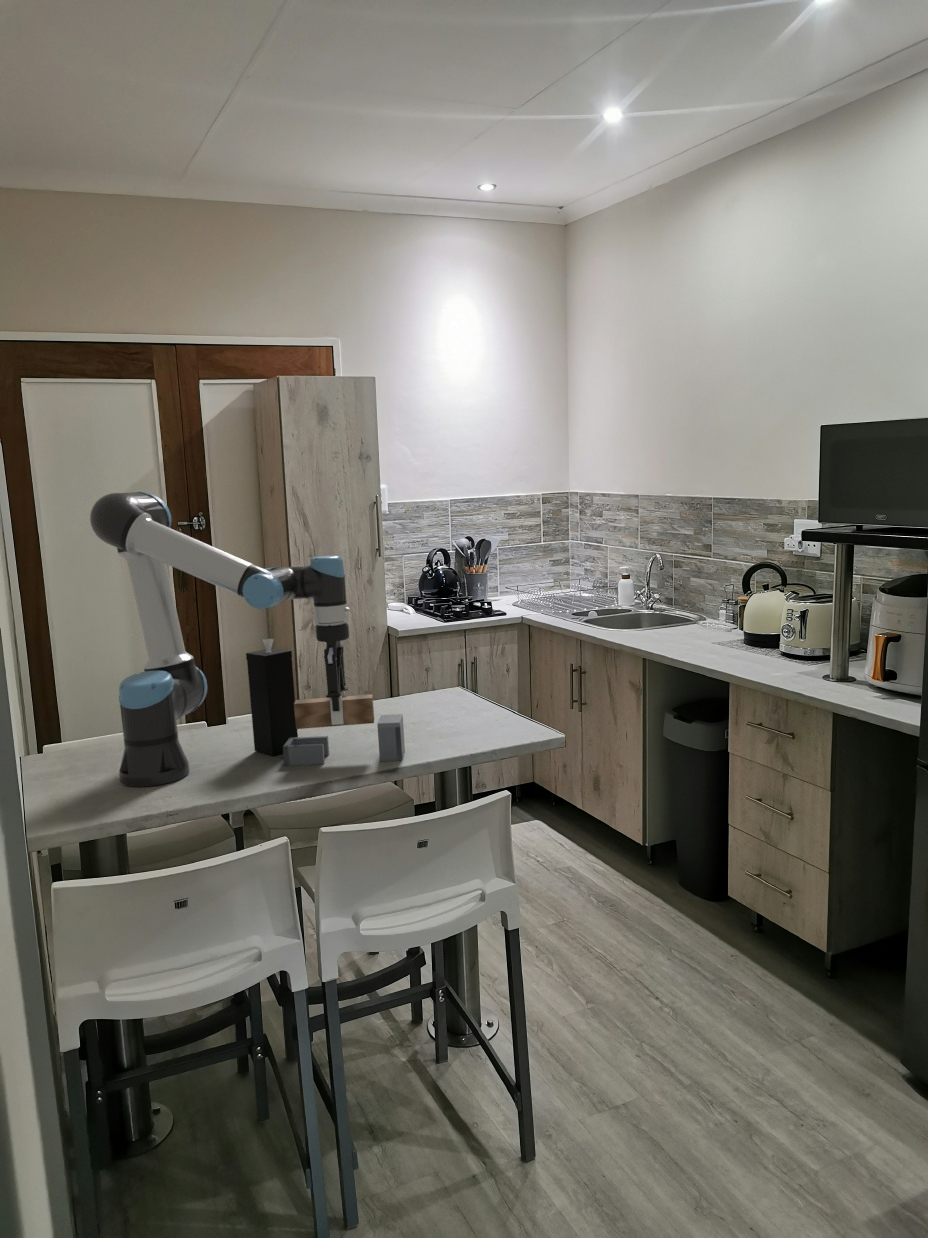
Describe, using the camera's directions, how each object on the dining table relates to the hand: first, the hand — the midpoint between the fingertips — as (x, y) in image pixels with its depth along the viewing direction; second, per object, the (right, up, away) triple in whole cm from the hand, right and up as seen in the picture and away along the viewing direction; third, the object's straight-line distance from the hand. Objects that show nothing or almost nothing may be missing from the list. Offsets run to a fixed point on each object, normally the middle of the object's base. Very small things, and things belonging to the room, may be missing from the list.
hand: (339, 721), depth 216 cm
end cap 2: (+12, -8, +1) cm, 15 cm away
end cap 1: (-8, -9, +1) cm, 12 cm away
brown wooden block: (-1, -1, 0) cm, 1 cm away
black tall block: (-17, -9, +11) cm, 22 cm away
